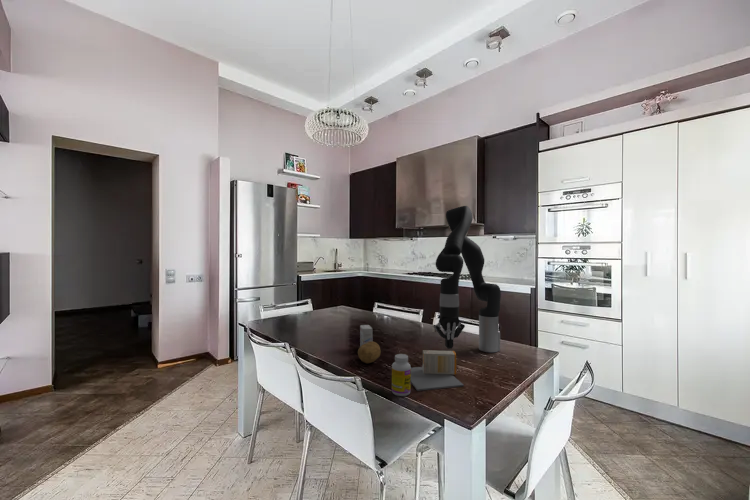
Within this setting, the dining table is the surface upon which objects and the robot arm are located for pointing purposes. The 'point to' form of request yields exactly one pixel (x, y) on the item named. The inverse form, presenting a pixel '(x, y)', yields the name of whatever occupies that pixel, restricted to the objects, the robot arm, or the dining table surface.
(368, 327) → the ink box
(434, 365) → the supplement box
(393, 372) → the supplement bottle
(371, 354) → the potato
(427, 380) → the rubber mat
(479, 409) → the dining table surface
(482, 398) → the dining table surface
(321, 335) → the dining table surface
